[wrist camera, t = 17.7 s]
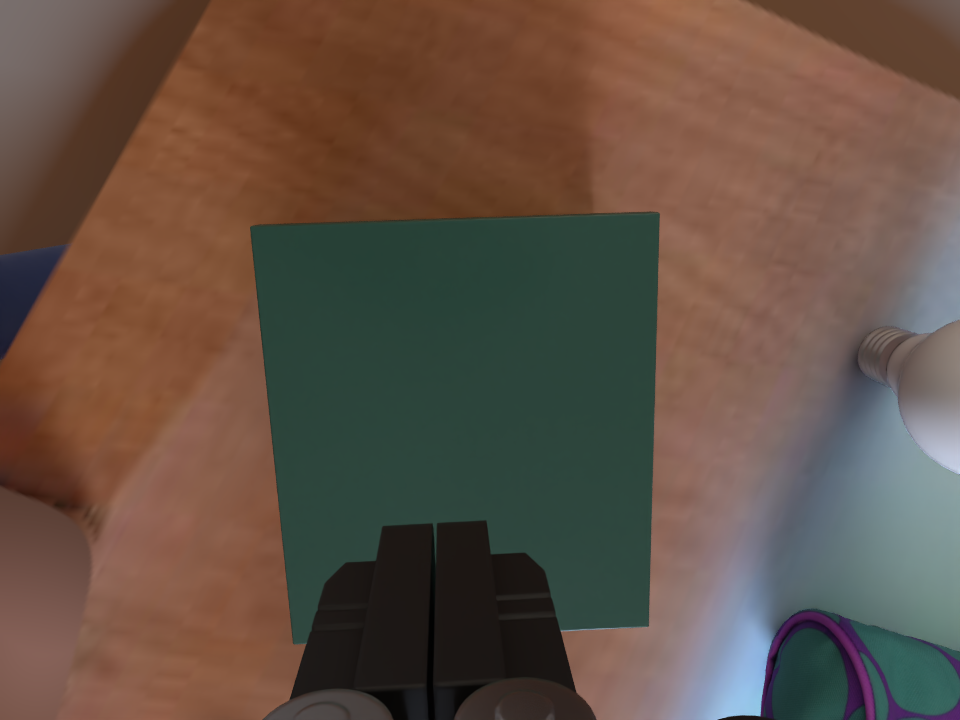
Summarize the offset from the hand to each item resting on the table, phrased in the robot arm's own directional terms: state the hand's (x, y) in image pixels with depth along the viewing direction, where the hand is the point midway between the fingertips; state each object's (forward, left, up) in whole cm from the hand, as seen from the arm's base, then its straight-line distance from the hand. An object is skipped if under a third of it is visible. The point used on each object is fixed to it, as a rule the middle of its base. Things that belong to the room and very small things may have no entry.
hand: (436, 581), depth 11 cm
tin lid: (+2, -2, -14) cm, 14 cm away
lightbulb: (+18, +10, -24) cm, 32 cm away
